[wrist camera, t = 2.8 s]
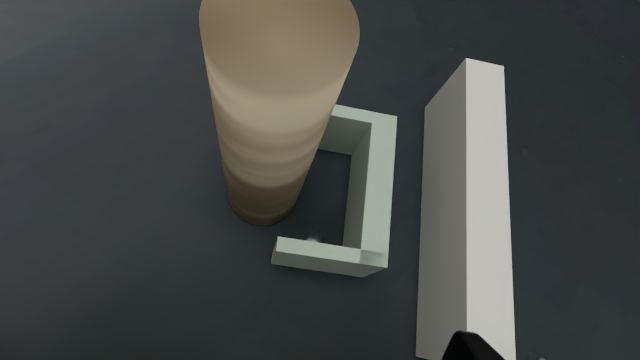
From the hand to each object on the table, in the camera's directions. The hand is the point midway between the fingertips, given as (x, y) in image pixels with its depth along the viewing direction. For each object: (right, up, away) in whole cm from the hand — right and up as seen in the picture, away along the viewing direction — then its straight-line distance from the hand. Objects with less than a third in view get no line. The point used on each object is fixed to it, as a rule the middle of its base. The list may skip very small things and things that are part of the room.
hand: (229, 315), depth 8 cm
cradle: (+2, +1, +14) cm, 14 cm away
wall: (+8, 0, +15) cm, 17 cm away
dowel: (-1, +2, +14) cm, 14 cm away
